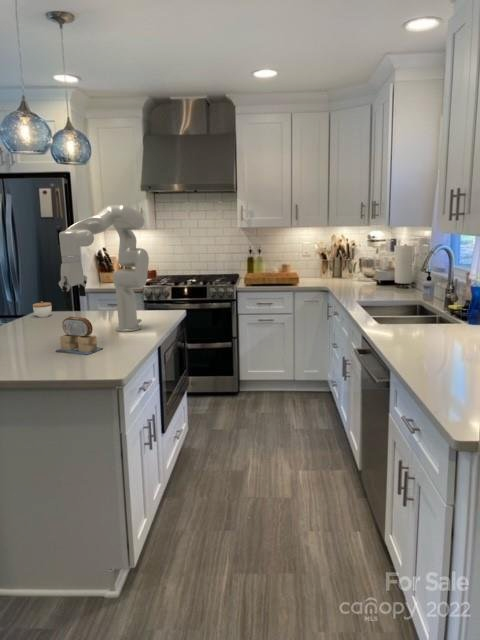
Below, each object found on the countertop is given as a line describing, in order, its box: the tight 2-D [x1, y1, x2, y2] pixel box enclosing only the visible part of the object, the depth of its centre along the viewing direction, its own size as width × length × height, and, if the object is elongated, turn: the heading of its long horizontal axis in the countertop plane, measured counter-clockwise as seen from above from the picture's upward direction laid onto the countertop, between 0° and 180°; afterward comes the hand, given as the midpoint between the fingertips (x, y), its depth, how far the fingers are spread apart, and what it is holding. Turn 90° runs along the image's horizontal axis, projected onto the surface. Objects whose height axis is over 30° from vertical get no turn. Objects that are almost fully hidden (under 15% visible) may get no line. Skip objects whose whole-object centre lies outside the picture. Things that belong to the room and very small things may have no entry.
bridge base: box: [55, 333, 104, 356], centre depth 221 cm, size 10×18×7 cm, turn 66°
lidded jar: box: [32, 300, 53, 318], centre depth 301 cm, size 11×11×9 cm
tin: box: [62, 316, 93, 337], centre depth 219 cm, size 15×3×8 cm, turn 66°
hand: (75, 298), depth 221 cm, fingers open, 9 cm apart
